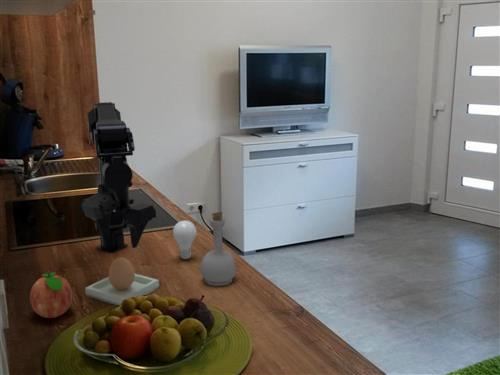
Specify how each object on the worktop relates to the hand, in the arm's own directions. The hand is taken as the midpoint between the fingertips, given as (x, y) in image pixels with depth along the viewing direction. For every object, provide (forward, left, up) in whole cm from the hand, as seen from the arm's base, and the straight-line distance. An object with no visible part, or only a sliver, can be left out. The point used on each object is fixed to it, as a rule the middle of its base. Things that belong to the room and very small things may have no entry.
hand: (119, 244), depth 122 cm
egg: (0, 0, -12) cm, 12 cm away
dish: (0, 0, -12) cm, 12 cm away
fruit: (-5, -16, -12) cm, 21 cm away
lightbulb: (0, +24, -12) cm, 27 cm away
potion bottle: (+16, +17, -12) cm, 26 cm away
